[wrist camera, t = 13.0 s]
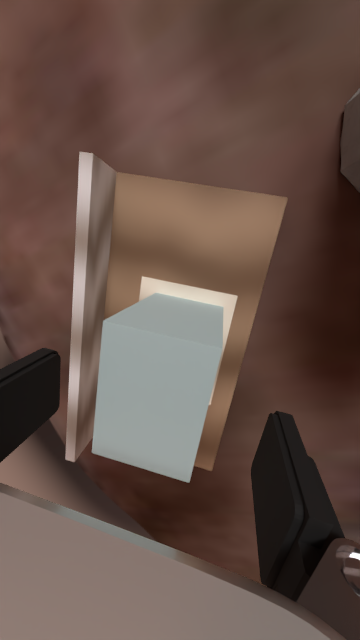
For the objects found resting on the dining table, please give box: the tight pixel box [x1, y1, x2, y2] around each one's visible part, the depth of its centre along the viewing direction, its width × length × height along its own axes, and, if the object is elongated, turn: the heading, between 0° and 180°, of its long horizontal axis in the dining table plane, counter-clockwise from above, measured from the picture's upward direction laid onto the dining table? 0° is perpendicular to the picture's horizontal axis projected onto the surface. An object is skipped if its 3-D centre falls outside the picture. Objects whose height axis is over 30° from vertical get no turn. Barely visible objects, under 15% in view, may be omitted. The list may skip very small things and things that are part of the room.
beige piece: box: [65, 152, 288, 471], centre depth 18 cm, size 22×12×5 cm, turn 170°
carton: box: [92, 293, 223, 483], centre depth 14 cm, size 5×7×8 cm
